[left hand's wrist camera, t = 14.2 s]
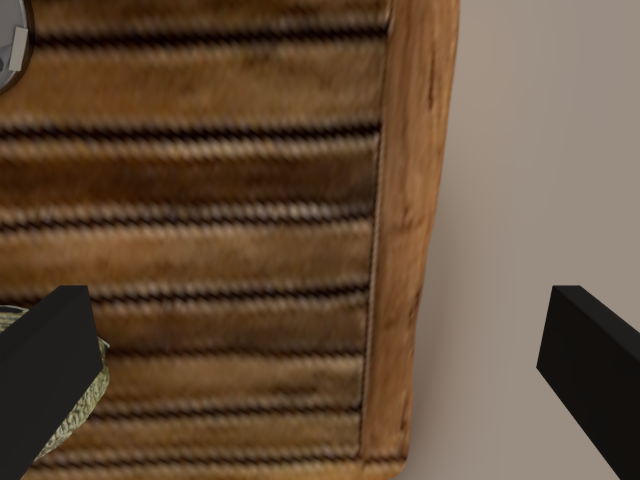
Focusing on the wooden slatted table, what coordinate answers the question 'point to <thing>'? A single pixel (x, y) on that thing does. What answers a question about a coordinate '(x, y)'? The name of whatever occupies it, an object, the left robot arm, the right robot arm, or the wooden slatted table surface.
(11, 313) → the fossil
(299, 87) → the wooden slatted table surface
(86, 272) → the wooden slatted table surface
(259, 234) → the wooden slatted table surface
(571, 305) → the left robot arm
